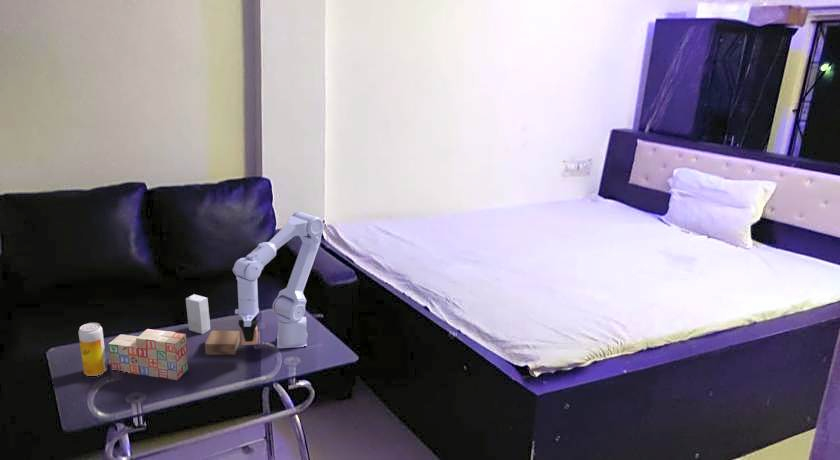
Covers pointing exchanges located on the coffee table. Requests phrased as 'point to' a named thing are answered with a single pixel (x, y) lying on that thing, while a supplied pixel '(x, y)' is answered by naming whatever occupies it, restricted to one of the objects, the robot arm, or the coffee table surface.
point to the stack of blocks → (150, 354)
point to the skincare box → (198, 313)
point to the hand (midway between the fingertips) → (249, 336)
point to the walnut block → (222, 343)
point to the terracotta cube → (250, 341)
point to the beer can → (92, 349)
